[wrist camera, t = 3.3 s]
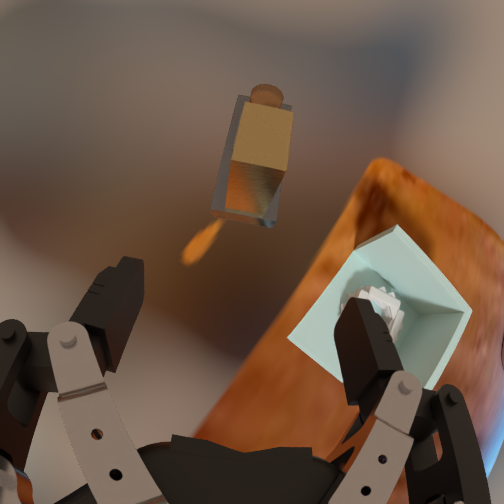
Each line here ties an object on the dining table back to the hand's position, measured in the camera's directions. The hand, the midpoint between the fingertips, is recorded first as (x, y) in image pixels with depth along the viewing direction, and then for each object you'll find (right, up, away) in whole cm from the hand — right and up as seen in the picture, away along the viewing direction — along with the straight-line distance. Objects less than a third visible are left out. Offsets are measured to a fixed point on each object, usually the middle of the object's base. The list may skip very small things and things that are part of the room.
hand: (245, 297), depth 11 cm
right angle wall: (+12, -6, +17) cm, 22 cm away
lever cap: (0, +8, +16) cm, 18 cm away
